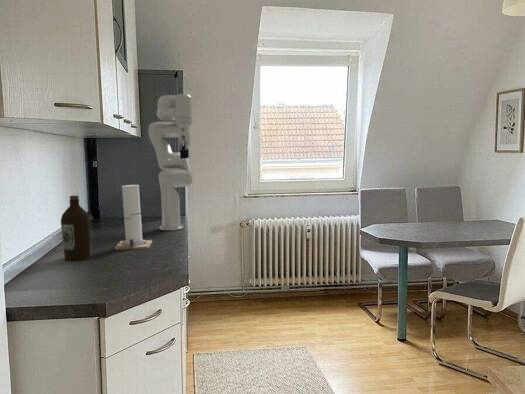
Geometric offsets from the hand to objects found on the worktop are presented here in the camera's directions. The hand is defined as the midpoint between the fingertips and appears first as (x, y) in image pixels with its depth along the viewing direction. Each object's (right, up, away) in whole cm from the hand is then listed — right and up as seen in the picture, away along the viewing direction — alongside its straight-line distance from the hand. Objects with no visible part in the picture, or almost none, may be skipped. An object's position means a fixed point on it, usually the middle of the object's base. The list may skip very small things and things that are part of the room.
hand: (184, 158), depth 218 cm
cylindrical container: (-21, -38, -12) cm, 45 cm away
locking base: (-21, -40, -12) cm, 46 cm away
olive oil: (-37, -43, -33) cm, 66 cm away
